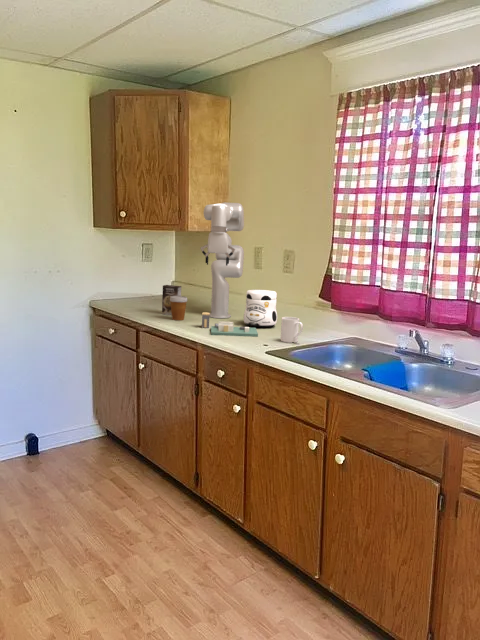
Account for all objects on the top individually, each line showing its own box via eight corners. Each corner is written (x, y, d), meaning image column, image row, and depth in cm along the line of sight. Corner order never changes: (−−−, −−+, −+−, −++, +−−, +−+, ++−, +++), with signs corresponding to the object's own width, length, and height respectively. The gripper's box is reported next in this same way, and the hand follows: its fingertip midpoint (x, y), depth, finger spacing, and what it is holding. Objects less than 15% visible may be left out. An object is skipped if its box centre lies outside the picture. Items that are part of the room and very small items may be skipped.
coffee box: (161, 314, 313) (162, 285, 310) (165, 312, 319) (166, 284, 316) (176, 315, 311) (177, 286, 308) (180, 314, 317) (181, 285, 314)
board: (211, 328, 278) (211, 320, 278) (255, 330, 279) (256, 321, 279) (210, 334, 263) (211, 326, 262) (257, 336, 263) (258, 327, 263)
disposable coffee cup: (171, 321, 293) (172, 298, 291) (167, 318, 302) (167, 295, 300) (189, 320, 297) (190, 298, 295) (184, 317, 305) (184, 295, 303)
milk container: (247, 329, 281) (248, 293, 278) (240, 322, 298) (241, 289, 295) (280, 329, 285) (282, 294, 281) (272, 323, 301) (273, 289, 298)
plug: (202, 326, 284) (202, 312, 282) (209, 326, 284) (209, 312, 282) (201, 328, 278) (202, 314, 277) (208, 328, 278) (209, 314, 277)
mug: (276, 340, 258) (278, 317, 256) (290, 338, 262) (291, 316, 261) (294, 345, 248) (295, 321, 246) (307, 343, 253) (309, 320, 251)
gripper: (235, 231, 283) (234, 265, 285) (201, 229, 282) (199, 264, 284) (236, 231, 276) (234, 266, 278) (200, 229, 275) (199, 264, 277)
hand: (217, 265), depth 281 cm, fingers open, 9 cm apart
